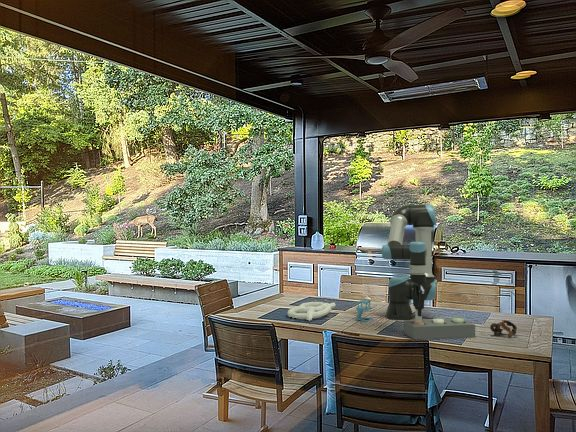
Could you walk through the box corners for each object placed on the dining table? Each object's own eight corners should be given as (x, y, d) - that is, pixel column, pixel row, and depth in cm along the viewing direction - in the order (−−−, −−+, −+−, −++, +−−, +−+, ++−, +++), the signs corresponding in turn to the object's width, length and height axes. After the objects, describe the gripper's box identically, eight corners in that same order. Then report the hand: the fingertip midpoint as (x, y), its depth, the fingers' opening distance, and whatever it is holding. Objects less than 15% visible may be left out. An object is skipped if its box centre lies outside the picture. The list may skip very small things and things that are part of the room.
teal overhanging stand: (359, 318, 267) (359, 297, 267) (373, 319, 263) (373, 298, 263) (354, 320, 260) (354, 299, 260) (368, 322, 256) (368, 300, 256)
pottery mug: (504, 333, 230) (513, 320, 227) (514, 346, 222) (522, 333, 218) (483, 328, 228) (491, 315, 225) (491, 341, 220) (500, 327, 216)
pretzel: (314, 325, 257) (313, 314, 256) (281, 321, 271) (279, 311, 271) (341, 310, 278) (339, 300, 278) (309, 308, 293) (307, 297, 293)
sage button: (451, 323, 230) (451, 317, 230) (460, 323, 230) (460, 317, 230) (455, 326, 225) (455, 320, 225) (465, 325, 225) (465, 319, 225)
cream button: (431, 324, 229) (431, 318, 229) (441, 324, 229) (441, 318, 229) (435, 327, 224) (435, 320, 224) (445, 326, 224) (445, 320, 224)
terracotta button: (411, 328, 228) (411, 321, 228) (421, 327, 228) (421, 321, 228) (415, 330, 223) (415, 324, 223) (425, 330, 223) (425, 323, 223)
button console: (403, 332, 232) (403, 320, 232) (461, 330, 235) (461, 318, 235) (414, 339, 218) (414, 327, 218) (475, 337, 221) (475, 324, 221)
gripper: (405, 272, 232) (406, 319, 232) (415, 275, 219) (416, 325, 219) (420, 272, 233) (421, 319, 232) (430, 275, 220) (431, 325, 219)
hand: (418, 322), depth 226 cm, fingers closed
